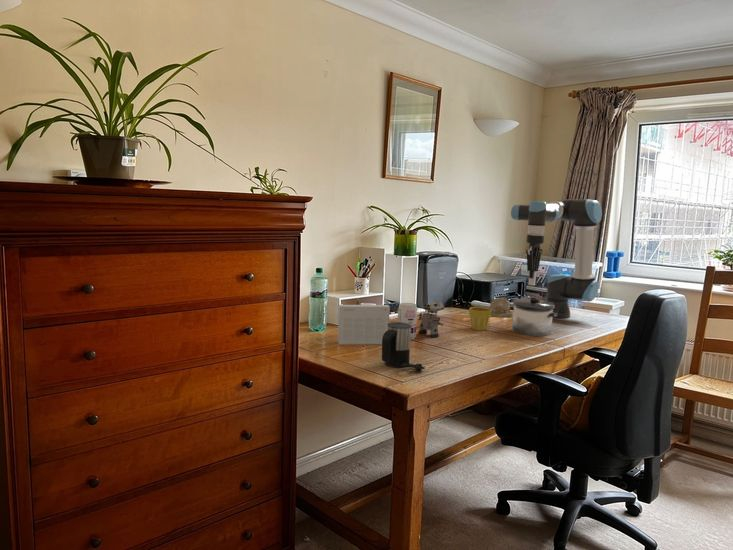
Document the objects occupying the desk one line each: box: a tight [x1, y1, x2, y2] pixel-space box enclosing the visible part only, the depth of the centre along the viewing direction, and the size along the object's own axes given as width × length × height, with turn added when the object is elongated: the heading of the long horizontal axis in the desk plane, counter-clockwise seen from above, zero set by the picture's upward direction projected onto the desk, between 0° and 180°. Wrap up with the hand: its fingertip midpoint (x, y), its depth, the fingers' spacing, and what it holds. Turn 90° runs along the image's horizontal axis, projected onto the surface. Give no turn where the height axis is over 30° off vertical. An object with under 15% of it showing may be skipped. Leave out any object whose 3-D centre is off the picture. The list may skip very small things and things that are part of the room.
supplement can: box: [397, 302, 418, 341], centre depth 242 cm, size 8×8×15 cm
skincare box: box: [337, 304, 391, 345], centre depth 230 cm, size 21×5×16 cm, turn 100°
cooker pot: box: [510, 305, 557, 337], centre depth 267 cm, size 20×22×12 cm
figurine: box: [417, 300, 445, 338], centre depth 250 cm, size 9×12×15 cm
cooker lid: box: [512, 296, 555, 310], centre depth 265 cm, size 19×19×4 cm
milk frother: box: [381, 321, 426, 372], centre depth 199 cm, size 14×16×15 cm
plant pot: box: [468, 306, 492, 331], centre depth 268 cm, size 10×10×10 cm
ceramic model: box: [489, 296, 514, 319], centre depth 304 cm, size 14×11×10 cm
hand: (531, 285), depth 261 cm, fingers closed
